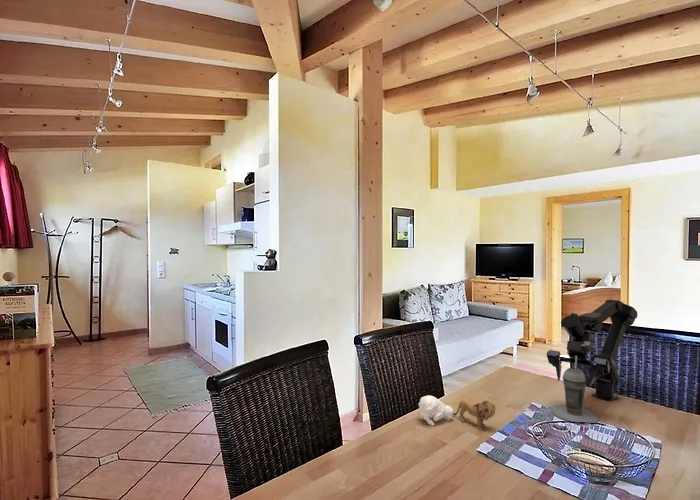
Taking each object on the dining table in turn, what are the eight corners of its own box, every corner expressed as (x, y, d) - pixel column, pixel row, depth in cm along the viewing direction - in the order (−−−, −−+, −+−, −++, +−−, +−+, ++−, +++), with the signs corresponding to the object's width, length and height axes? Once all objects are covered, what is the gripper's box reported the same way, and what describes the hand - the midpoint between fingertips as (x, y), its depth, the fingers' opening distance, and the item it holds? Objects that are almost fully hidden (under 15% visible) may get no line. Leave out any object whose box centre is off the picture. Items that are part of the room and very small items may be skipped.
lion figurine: (498, 428, 121) (498, 400, 121) (491, 434, 117) (491, 405, 117) (456, 414, 131) (456, 388, 131) (448, 419, 128) (448, 392, 127)
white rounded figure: (417, 392, 127) (448, 392, 131) (415, 418, 127) (446, 417, 131) (426, 400, 121) (459, 399, 125) (424, 427, 121) (456, 425, 125)
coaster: (566, 404, 141) (566, 401, 141) (606, 418, 128) (606, 416, 128) (542, 411, 134) (542, 409, 134) (583, 428, 122) (583, 425, 122)
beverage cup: (579, 408, 134) (580, 352, 134) (591, 417, 127) (591, 358, 127) (558, 408, 135) (558, 352, 135) (568, 417, 128) (568, 357, 128)
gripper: (548, 327, 140) (539, 364, 132) (608, 335, 128) (603, 376, 120) (553, 345, 146) (545, 381, 138) (611, 354, 134) (606, 394, 126)
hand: (573, 382), depth 130 cm, fingers open, 9 cm apart
